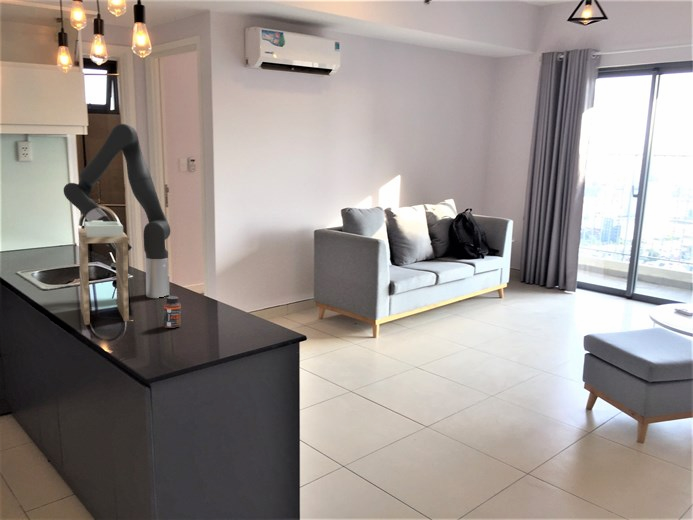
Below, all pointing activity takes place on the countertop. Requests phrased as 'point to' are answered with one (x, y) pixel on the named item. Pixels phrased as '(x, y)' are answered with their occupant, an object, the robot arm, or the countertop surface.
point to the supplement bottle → (172, 312)
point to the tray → (103, 229)
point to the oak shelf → (120, 272)
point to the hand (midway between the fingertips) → (123, 250)
